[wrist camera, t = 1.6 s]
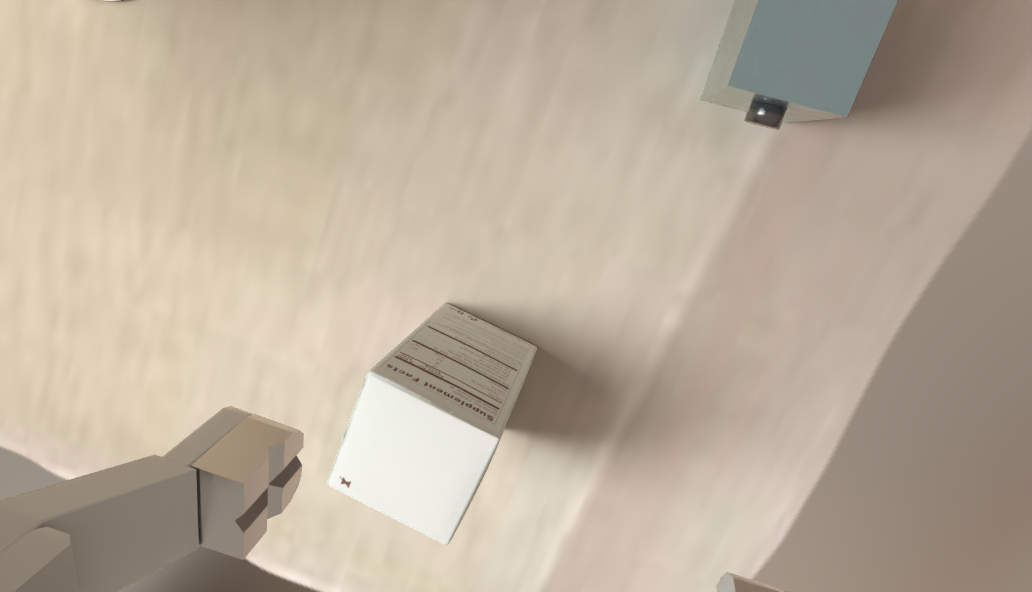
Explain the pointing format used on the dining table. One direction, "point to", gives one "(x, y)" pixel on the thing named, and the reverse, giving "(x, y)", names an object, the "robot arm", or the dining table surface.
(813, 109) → the block
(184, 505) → the robot arm
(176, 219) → the dining table surface
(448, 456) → the supplement box
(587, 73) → the dining table surface
